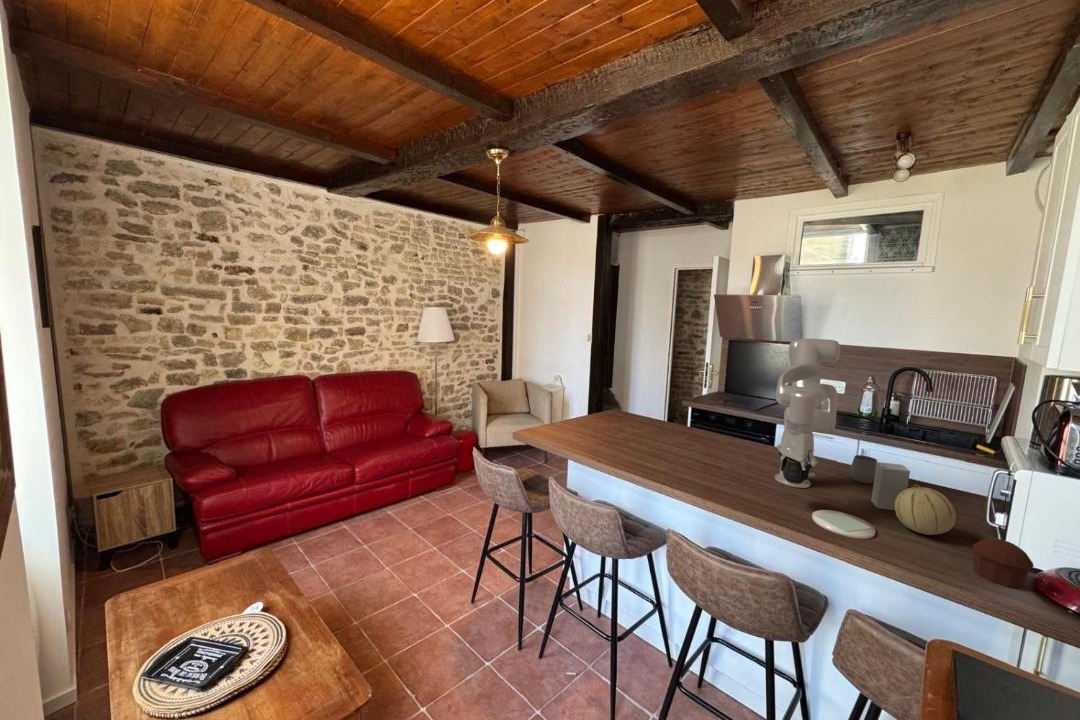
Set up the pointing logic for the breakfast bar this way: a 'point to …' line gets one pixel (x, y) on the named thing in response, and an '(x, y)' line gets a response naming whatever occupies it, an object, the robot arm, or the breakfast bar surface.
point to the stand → (843, 524)
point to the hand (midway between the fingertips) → (794, 474)
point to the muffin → (1001, 562)
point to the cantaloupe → (925, 510)
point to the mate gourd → (792, 471)
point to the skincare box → (888, 484)
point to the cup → (863, 469)
